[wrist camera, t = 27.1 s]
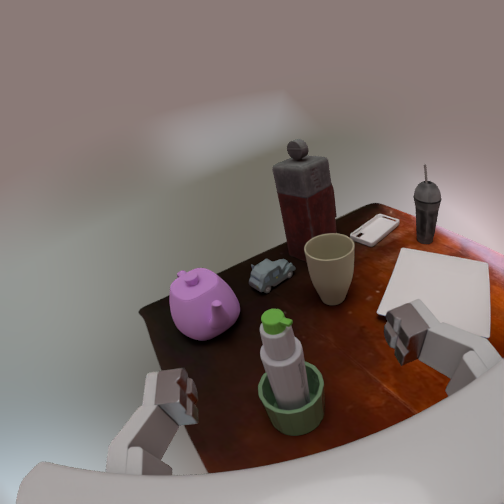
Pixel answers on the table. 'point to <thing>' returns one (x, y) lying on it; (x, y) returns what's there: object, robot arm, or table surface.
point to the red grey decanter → (304, 197)
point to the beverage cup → (426, 209)
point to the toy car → (270, 274)
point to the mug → (330, 265)
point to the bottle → (283, 361)
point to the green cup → (298, 418)
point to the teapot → (202, 304)
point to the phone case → (374, 230)
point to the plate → (442, 289)
